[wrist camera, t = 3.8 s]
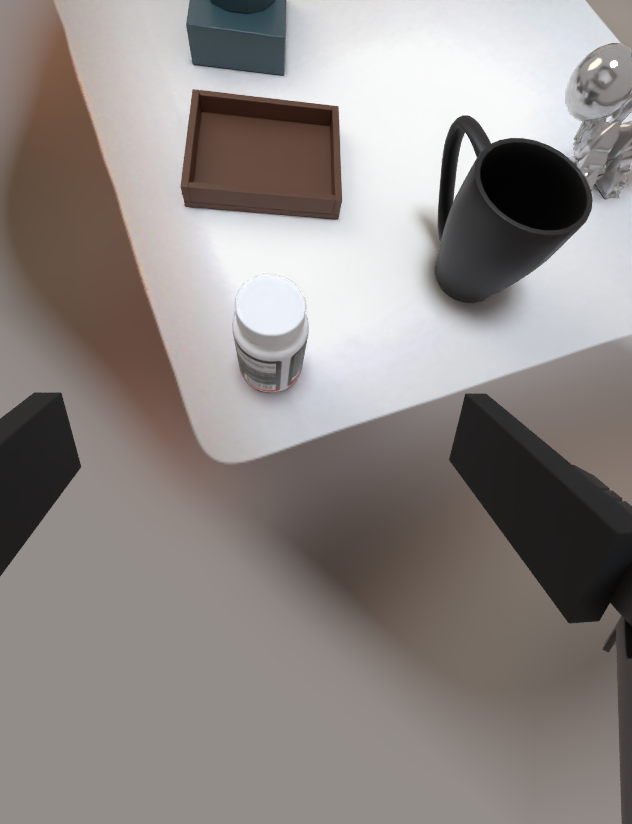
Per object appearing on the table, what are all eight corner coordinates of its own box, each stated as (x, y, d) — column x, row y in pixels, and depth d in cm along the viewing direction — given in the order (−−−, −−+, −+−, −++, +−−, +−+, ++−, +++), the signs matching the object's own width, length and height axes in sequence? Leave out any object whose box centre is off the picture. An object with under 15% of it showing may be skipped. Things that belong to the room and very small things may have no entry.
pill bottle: (285, 328, 31) (291, 256, 23) (312, 379, 30) (327, 322, 22) (229, 350, 30) (214, 282, 22) (254, 403, 28) (249, 353, 21)
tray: (185, 206, 33) (180, 186, 31) (196, 112, 36) (192, 88, 35) (338, 219, 35) (342, 201, 33) (335, 127, 38) (338, 105, 36)
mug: (455, 197, 37) (516, 88, 28) (526, 298, 34) (618, 214, 25) (382, 221, 35) (421, 112, 26) (451, 330, 32) (521, 251, 23)
